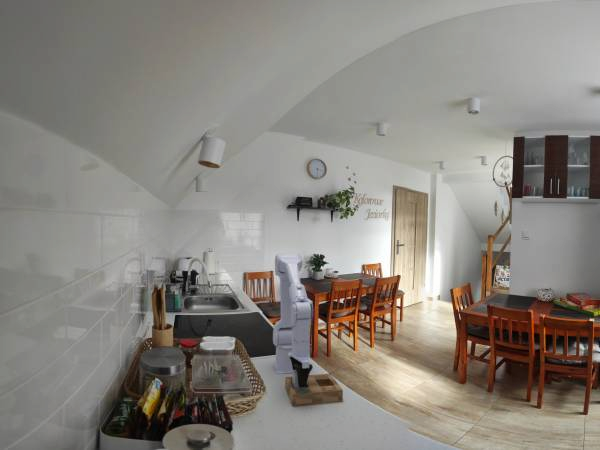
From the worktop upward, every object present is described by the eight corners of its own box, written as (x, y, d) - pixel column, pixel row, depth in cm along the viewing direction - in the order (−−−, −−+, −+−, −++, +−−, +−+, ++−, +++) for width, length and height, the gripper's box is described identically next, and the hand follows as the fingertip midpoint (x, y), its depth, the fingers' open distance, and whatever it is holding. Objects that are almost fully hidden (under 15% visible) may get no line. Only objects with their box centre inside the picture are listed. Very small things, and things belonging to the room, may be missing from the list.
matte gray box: (291, 391, 105) (292, 370, 106) (302, 390, 106) (303, 369, 106) (294, 397, 102) (295, 374, 102) (305, 396, 103) (306, 374, 103)
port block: (285, 387, 109) (285, 376, 109) (330, 383, 113) (330, 372, 113) (292, 406, 98) (292, 394, 98) (342, 401, 101) (342, 389, 101)
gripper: (284, 332, 111) (283, 372, 110) (293, 347, 97) (292, 393, 96) (304, 331, 112) (303, 371, 112) (316, 346, 98) (315, 391, 98)
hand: (299, 381), depth 104 cm, fingers open, 6 cm apart
